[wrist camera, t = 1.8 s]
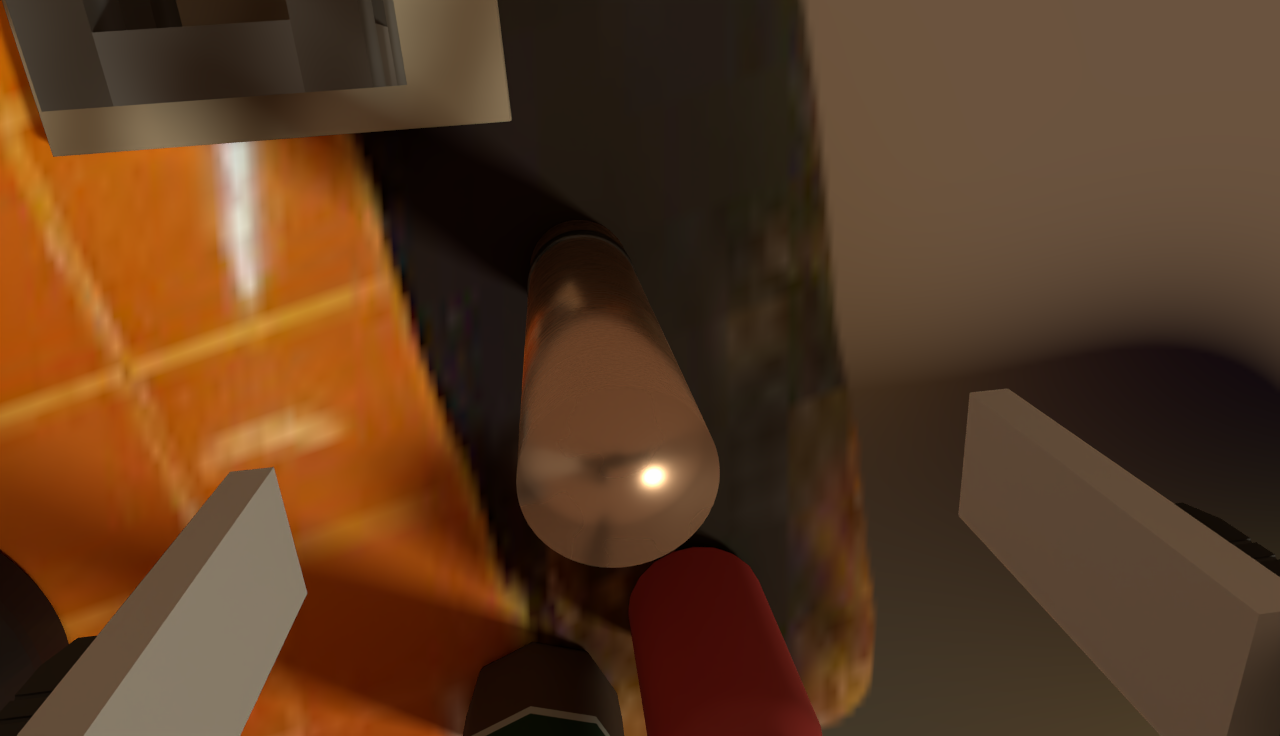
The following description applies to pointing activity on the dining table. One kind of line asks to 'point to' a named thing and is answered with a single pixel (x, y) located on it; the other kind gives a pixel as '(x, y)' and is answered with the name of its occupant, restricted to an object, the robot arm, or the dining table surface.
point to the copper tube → (605, 411)
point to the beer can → (713, 651)
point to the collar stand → (255, 69)
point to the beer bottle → (543, 696)
